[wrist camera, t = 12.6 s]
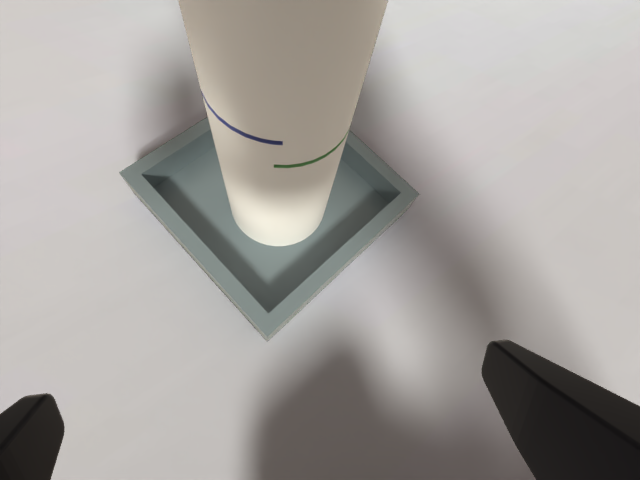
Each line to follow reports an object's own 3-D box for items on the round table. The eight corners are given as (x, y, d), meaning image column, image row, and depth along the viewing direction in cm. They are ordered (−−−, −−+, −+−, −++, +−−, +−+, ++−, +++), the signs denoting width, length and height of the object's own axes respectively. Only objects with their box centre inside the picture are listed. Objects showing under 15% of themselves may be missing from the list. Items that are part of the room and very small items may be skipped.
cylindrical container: (245, 152, 29) (138, -709, 6) (332, 174, 30) (549, -578, 6) (218, 233, 27) (-154, -740, 3) (314, 256, 27) (565, -512, 4)
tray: (405, 211, 30) (419, 194, 27) (267, 341, 25) (266, 336, 22) (281, 95, 33) (283, 69, 30) (134, 193, 28) (119, 172, 25)
